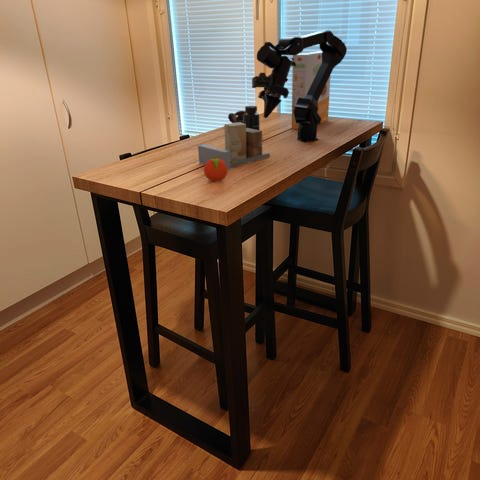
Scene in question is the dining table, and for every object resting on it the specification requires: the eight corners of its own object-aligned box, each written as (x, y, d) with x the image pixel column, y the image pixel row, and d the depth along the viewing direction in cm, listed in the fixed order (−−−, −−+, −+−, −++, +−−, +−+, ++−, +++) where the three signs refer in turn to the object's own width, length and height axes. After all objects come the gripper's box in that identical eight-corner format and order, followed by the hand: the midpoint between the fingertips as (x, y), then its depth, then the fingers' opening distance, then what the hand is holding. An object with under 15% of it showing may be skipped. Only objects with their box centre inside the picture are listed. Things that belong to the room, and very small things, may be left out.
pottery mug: (255, 126, 199) (255, 112, 192) (246, 139, 194) (246, 125, 187) (232, 118, 202) (231, 104, 195) (222, 131, 197) (221, 117, 190)
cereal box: (316, 119, 204) (318, 51, 190) (328, 121, 200) (331, 51, 187) (291, 129, 188) (292, 54, 174) (304, 130, 184) (306, 54, 171)
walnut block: (244, 152, 155) (244, 127, 151) (262, 156, 149) (261, 130, 145) (236, 154, 153) (235, 129, 149) (253, 159, 147) (253, 132, 143)
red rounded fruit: (230, 184, 124) (229, 160, 121) (207, 187, 123) (205, 163, 120) (225, 176, 131) (224, 153, 128) (203, 178, 130) (201, 156, 127)
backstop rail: (245, 150, 158) (244, 134, 155) (272, 157, 149) (272, 139, 146) (199, 162, 146) (197, 145, 143) (225, 170, 136) (224, 152, 134)
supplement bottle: (258, 138, 175) (257, 107, 170) (242, 137, 176) (240, 107, 171) (261, 134, 181) (260, 104, 176) (245, 134, 182) (244, 105, 177)
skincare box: (230, 162, 144) (229, 126, 139) (225, 159, 148) (223, 124, 142) (247, 159, 147) (246, 123, 141) (241, 157, 150) (240, 121, 145)
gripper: (252, 70, 156) (238, 111, 158) (265, 59, 138) (249, 107, 140) (280, 81, 159) (266, 122, 161) (296, 72, 141) (280, 119, 143)
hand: (265, 117), depth 151 cm, fingers closed
